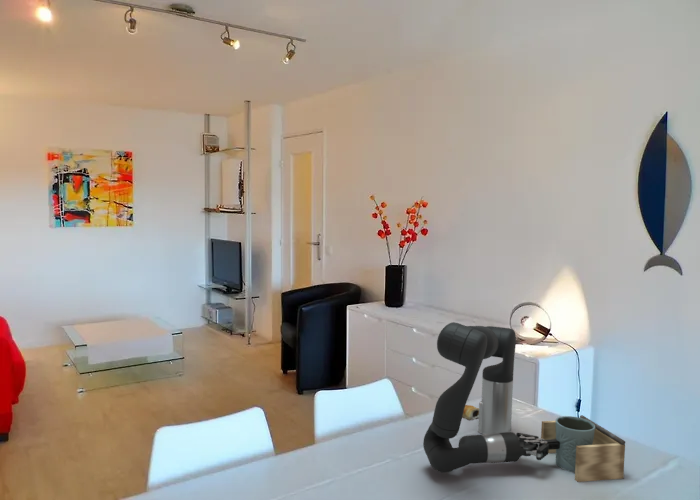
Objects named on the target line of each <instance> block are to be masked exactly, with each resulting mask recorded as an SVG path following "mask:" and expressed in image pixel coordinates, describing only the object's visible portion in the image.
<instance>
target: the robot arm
mask: <svg viewBox="0 0 700 500" xmlns="http://www.w3.org/2000/svg"><path fill="white" fill-rule="evenodd" d="M436 339H437V340H436V349H437V352H438V354H439V355H440V356H441V357H442V358H444V359H445V360H449V361H450V362H453V363H455V364H458V365H461V366H462V367H465V368H464V371H463V373H462V375H461V376H460V378H459V379H458V380H457V381H456V382H454V383H453V384H452V385H451V386H450V387H448V388H447V389H446V390H444V391H443V392H442V393H441V394H440V395H439V397H438V399H437V400H436V404H435V407H434V412H433V417H432V420H431V421H432V422H431V423H430V425H429V426H428V429H427V430H426V433H425V434H424V437H423V442H422V443H423V445H422V446H423V450H424V453H425V455H426V457H427V459H428V462H429V464H430V466H431V468H432V469H433V470H435V471H437V472H441V473H449V472H452V471H456V470H458V469H460V468H463V467H466V466H468V465H472V464H473V465H474V464H485V463H486V464H501V463H502V464H503V463H517V462H518V461H520V458H521V457H522V456H524V457H531V456H534V457H535V458H536V460H537V461H541V460H543V459H545V457H547V456H548V455H549V453H548V451H549V450H552V449H559V448H560V442H559V441H558V440H556V439H549V440H544V439H542V438H541V437H539V436H537V435H534V434H528V433H523V432H516V433H515V432H513V431H512V416H513V415H512V414H513V389H514V371H515V370H514V369H515V368H514V367H515V355H516V346H517V345H516V344H517V335H516V332H515V329H513V328H510V327H500V326H492V325H491V326H489V325H488V326H485V325H484V326H483V325H464V324H461V323H458V322H454V321H453V322H449V323H448V324H446V325H445V326H444V327H443V328H441V331H440V332H439V334H438V336H437V338H436ZM490 357H494V358H501V359H502V361H501V362H499V363H495V364H492V365H488V366H485V367H484V368H483V369H482V377H481V378H482V380H481V381H482V382H481V401H479V405H478V408H479V418H478V425H477V426H478V427H477V429H478V431H477V432H478V434H473V435H464V436H461V437H460V439H459V441H458V444H457V445H458V446H457V447H453V445H452V443H451V441H450V439H454V438H455V437H456V436H458V433H459V431H460V429H461V423H462V419H463V417H462V416H463V412H464V408H465V405H467V401H468V400H469V399H468V398H469V397H470V394H471V392H472V389H473V387H474V384H475V383H476V379H477V377H478V374H479V371H480V368H481V366H482V364H483V361H484V360H486V359H489V358H490ZM479 433H480V434H479Z"/></svg>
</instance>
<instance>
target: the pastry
mask: <svg viewBox="0 0 700 500" xmlns="http://www.w3.org/2000/svg"><path fill="white" fill-rule="evenodd" d="M462 419H465V420H468V421H473V420H475V419H479V407H475V406H474V405H470V404H466V405H465V408H464V412H463V416H462Z"/></svg>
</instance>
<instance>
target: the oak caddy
mask: <svg viewBox="0 0 700 500" xmlns="http://www.w3.org/2000/svg"><path fill="white" fill-rule="evenodd" d="M579 418H583V419H586V420H588V421H590V422H592V423H593V424H594V425H595V433H594V439H593V444H592V445H582V446H576V463H575V472H574V481H576V482H577V483H581V482H583V483H584V482H594V481H596V482H597V481H607V480H610V481H611V480H620V479H624V475H625V473H624V472H625V454H626V453H625V452H626V441H625V440H624V439H622V438H621V437H619V436H617V435H616V434H614V433H612V432H611V431H609V430H607V429H606V428H605V427H602V426H601V425H599V424H598V423H596V422H594V421H593V420H591V419H590V418H588V417H586V416H585V415H582V414H581V415H580V416H579ZM540 429H541V432H540V438H542V439H544V440H549V439H556V420H542V421H541V428H540ZM548 454H556V449H552V450H549V451H548Z"/></svg>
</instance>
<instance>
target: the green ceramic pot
mask: <svg viewBox="0 0 700 500" xmlns="http://www.w3.org/2000/svg"><path fill="white" fill-rule="evenodd" d="M555 421H556V440H558V441H559V442H560V448H559V449H556V453H555V463H556V465H557V466H558V467H559V468H561V470H565V471H568V472H572V473H575V463H576V446H582V445H592V444H593V439H594V433H595V425H594V424H593V423H592V422H590V421H588V420H586V419H583V418H580V416H579V417H577V416H568V415H564V416H559V417H558V416H557V418H556V419H555Z"/></svg>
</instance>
